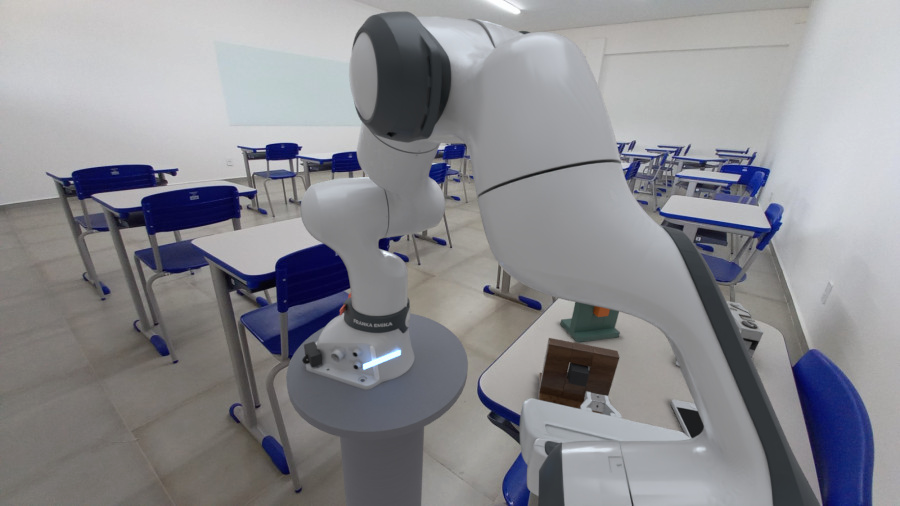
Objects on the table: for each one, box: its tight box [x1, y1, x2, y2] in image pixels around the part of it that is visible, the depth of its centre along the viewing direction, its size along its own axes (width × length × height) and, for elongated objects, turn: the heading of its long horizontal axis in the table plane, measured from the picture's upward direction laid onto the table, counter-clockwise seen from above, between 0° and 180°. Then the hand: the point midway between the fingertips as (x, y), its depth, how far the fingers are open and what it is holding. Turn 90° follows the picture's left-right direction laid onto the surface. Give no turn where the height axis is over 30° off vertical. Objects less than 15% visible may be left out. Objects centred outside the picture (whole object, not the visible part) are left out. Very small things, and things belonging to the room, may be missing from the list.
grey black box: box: [726, 300, 765, 359], centre depth 87 cm, size 14×8×10 cm, turn 160°
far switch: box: [593, 306, 610, 317], centre depth 87 cm, size 3×3×3 cm
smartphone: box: [670, 398, 704, 439], centre depth 62 cm, size 7×15×1 cm, turn 168°
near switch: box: [568, 363, 589, 387], centre depth 64 cm, size 3×3×3 cm
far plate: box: [560, 302, 621, 343], centre depth 89 cm, size 8×12×13 cm, turn 105°
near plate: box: [537, 337, 620, 414], centre depth 67 cm, size 8×12×13 cm, turn 76°
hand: (595, 396), depth 50 cm, fingers closed
